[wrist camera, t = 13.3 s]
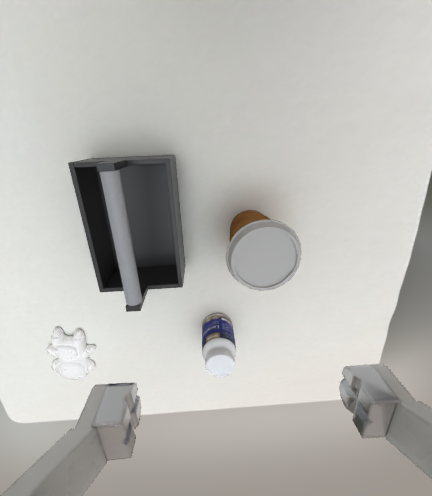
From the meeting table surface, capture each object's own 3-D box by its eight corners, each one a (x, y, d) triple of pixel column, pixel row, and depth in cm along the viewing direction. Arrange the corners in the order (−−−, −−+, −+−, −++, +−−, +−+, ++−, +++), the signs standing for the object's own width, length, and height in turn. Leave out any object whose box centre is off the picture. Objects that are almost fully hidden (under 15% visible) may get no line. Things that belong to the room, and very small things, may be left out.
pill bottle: (213, 307, 48) (216, 346, 39) (237, 321, 50) (246, 362, 41) (196, 327, 50) (195, 370, 41) (220, 340, 52) (224, 384, 42)
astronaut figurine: (97, 329, 49) (91, 341, 46) (95, 376, 53) (89, 389, 51) (47, 323, 48) (38, 335, 45) (50, 371, 52) (41, 385, 49)
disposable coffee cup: (230, 262, 45) (240, 302, 34) (212, 211, 41) (216, 238, 30) (283, 244, 44) (311, 280, 33) (270, 191, 41) (296, 211, 30)
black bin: (90, 157, 37) (44, 165, 26) (174, 154, 38) (164, 160, 27) (114, 270, 44) (86, 314, 33) (185, 266, 45) (180, 308, 34)
